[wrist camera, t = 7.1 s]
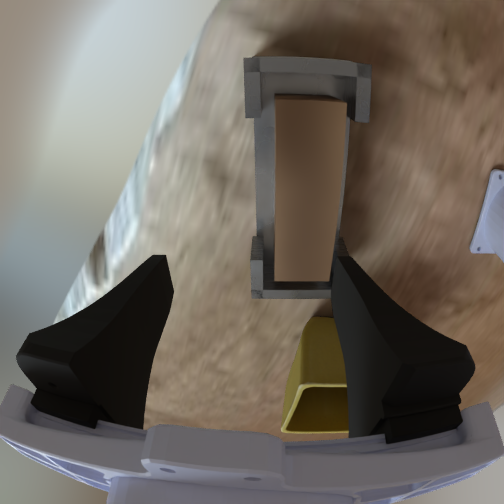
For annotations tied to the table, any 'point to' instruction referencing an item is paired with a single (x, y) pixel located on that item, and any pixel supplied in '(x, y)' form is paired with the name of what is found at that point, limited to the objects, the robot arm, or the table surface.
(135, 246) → the table surface
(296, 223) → the block
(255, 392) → the table surface
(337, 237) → the bracket
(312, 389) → the flower pot
